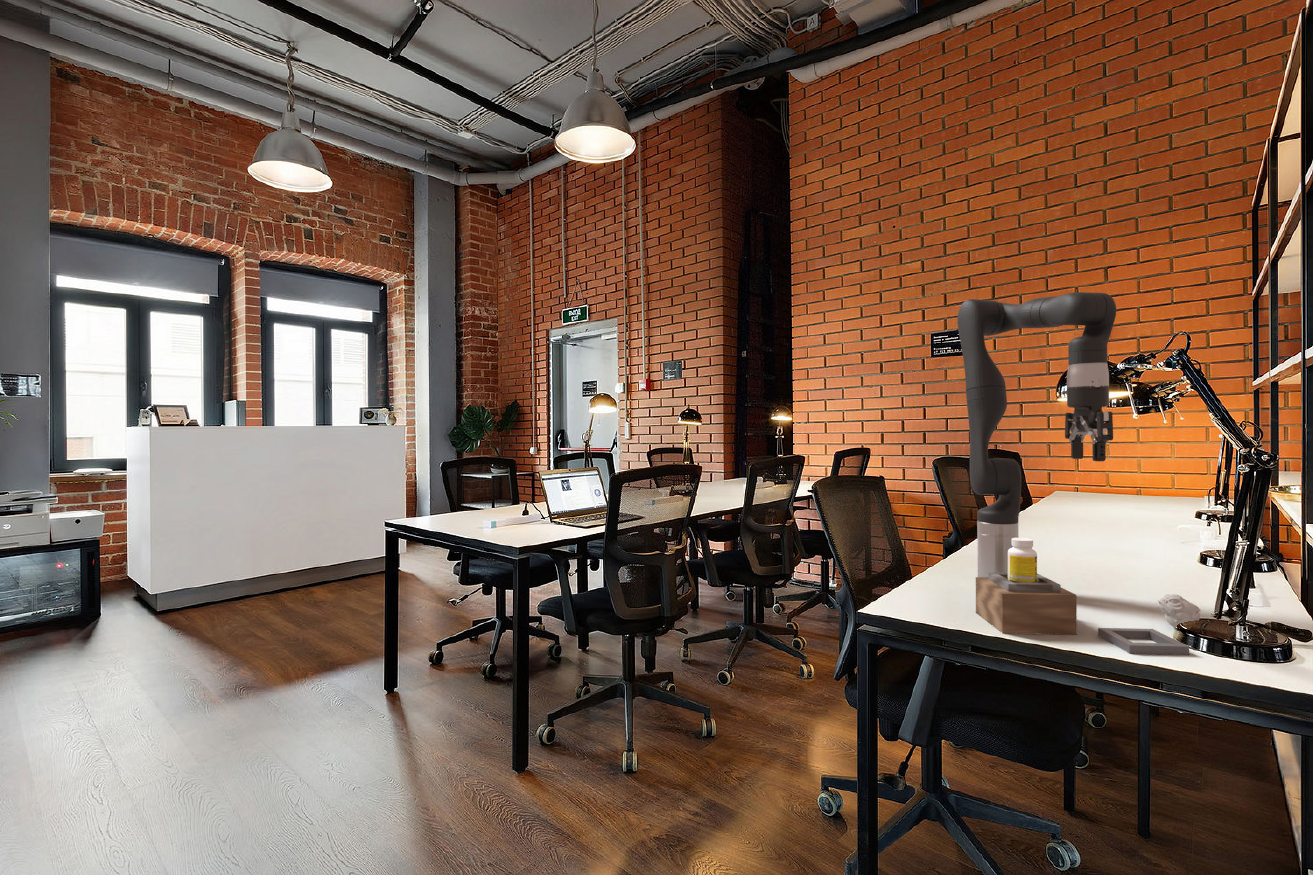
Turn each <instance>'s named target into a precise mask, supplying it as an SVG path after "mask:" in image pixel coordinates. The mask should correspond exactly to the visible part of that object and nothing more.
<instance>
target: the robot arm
mask: <svg viewBox="0 0 1313 875" xmlns="http://www.w3.org/2000/svg"><path fill="white" fill-rule="evenodd" d="M1116 318H1117V304H1116V302H1115V300H1114V298H1113V297H1112V296H1111V295H1110V294H1109V293H1106V292H1087V291H1086V292H1085V291H1083V292H1082V291H1081V292H1077V291H1075V292H1069V293H1064V294H1060V295H1057V296H1045V297H1037V298H1034V299H1029V300H1027V301H1025V302H1023V303H1018V304H1016V303H1015V304H1014V303H1008V302H1007V303H1004V302H999V301H996V300H989V299H979V298H978V299H977V298H971V299H970V298H968V299H966V300H965V301H963V302H962V303H961V304H960V306H959V309H958V312H957V318H956V320H957V330H958V336H959V341H960V347H961V351H962V352H961V353H962V358H963V367H964V378H965V379H964V380H965V398H966V408H967V416H968V417H967V419H968V426H969V427H968V430H969V481H970V486H971V489H972V491H973V493H975V494H976V495H979V496H998V498H997V500H996V501H995V502H993V503H991V504H989V505H987V506H985V507H982V508H980V509H978V510H977V513H976V514H977V515H976V516H977V517H976V519H977V520H976V521H977V523H976V526H977V529H976V530H977V534H976V535H977V536H976V537H977V577H989V573H1008V550H1009V549H1010V548H1013V546H1012V538H1020V536H1019V535H1020V534H1019V516H1020V512H1021V496H1022V494H1021V492H1022V471H1021V467H1020V464H1019V462H1017V460H1016V459H1013V458H989V455H988V454H989V444H990V440H991V438H992V435H993V434H994V431H995V430H996V428H997V427H998V425H999V423H1000V422H1001V420H1002V419H1003V417H1004V416H1005V413H1006V411H1007V407H1008V398H1007V386H1006V381H1005V378H1004V376H1003V375H1002V373H1001V371H1000V369H999V368H998V366H997V365H996V364H995V362H994V360H993V359H992V358H991V356H990V354H989V352H988V349H987V347H986V346H987V345H986V342H985V336H986V337H990V336H996V335H1000V334H1003V333H1007V332H1010V331H1014V330H1015V331H1016V330H1021V329H1048V328H1049V329H1050V328H1059V327H1063V326H1084V329H1083V332H1082V334H1081V336H1077V337H1074V338H1072V339H1071V340H1069V343H1068V347H1067V348H1068V349H1067V350H1068V360H1067V361H1068V364H1067V365H1068V366H1067V372H1066V387H1067V388H1066V404H1067V407H1068V408H1070V409H1071V408H1074V411H1073V412H1066V413H1065V415H1064V418H1065V421H1064V422H1065V423H1064V439H1066V440H1068V441H1069V442H1070V458H1071V459H1073V460H1082V459H1083V458H1084V442H1083V441H1084V439H1085V438H1086V436H1087V435H1088V436H1090V438H1091V441H1092V443H1091V444H1092V461H1093V462H1105V461H1106V459H1107V458H1106V454H1107V453H1106V451H1107V450H1106V449H1107V448H1106V445H1107V444H1108V442H1109V441H1113V440H1114V424H1113V423H1114V422H1113V421H1114V420H1113V416H1114V415H1113V412H1112V411H1107V410H1106V411H1103V408H1105V407H1108V406H1109V404H1110V371H1109V366H1108V343H1109V340H1110V337H1111V335H1112V330H1113V327H1114V325H1115V324H1114V323H1115V321H1116V320H1115V319H1116Z"/></svg>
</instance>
